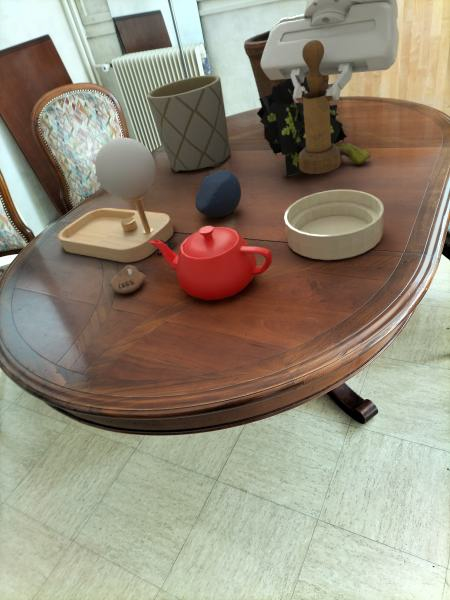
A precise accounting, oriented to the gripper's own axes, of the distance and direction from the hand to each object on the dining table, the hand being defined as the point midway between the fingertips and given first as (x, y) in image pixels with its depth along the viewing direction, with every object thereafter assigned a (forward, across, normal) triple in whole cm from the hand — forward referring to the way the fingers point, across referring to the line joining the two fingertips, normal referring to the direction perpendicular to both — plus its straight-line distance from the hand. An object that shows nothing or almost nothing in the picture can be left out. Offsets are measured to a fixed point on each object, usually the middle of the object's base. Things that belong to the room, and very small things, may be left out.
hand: (315, 100), depth 62 cm
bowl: (+14, -2, +28) cm, 31 cm away
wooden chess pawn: (+7, 0, +8) cm, 11 cm away
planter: (-11, -61, +54) cm, 82 cm away
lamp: (+23, -52, +20) cm, 61 cm away
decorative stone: (+11, -33, +31) cm, 47 cm away
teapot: (+29, -18, +13) cm, 37 cm away
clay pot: (-31, -38, +74) cm, 89 cm away
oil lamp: (+33, -36, +9) cm, 50 cm away
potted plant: (-9, -19, +52) cm, 56 cm away
